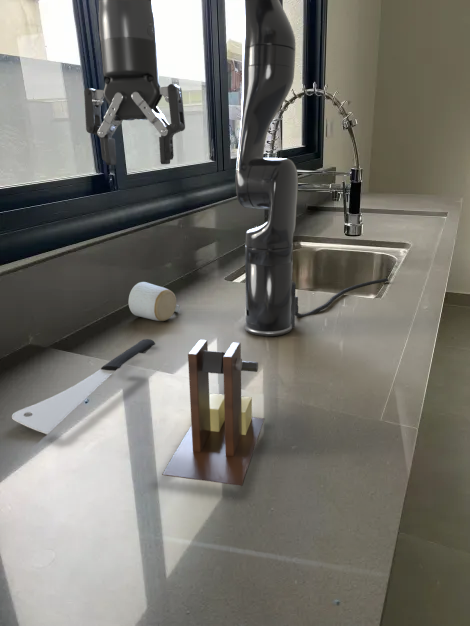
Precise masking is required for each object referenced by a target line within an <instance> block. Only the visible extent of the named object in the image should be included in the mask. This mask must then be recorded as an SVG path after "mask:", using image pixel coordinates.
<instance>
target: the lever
mask: <svg viewBox="0 0 470 626" xmlns="http://www.w3.org/2000/svg"><path fill="white" fill-rule="evenodd" d="M225 353H226V352H224V351H214V350H208V351H204V355H203V366H202V372H206V373H209V374H218V375H224V370H223V356H224V355H225ZM258 371H259V362H258V361H249V360H242V369H241V372H253V373H258Z"/></svg>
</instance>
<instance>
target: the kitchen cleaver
mask: <svg viewBox="0 0 470 626" xmlns="http://www.w3.org/2000/svg"><path fill="white" fill-rule="evenodd" d="M155 345H156V343H155V341H154V340H153V339H150V338H144V339H141V340H140V341H139V342H137V343H135V344H134V345H133V346H131V347H129V348H128V349H127V350H125V351H124V352H122V353H120V354H119V355H117V356H116V357H114V358H113V359H111V360H110V361H109V362H106V364H104V365H103V366H101V368H100V369H99V370H97V371H95V372H93V373H92V374H90V375H89V376H87V377H86V378H84V379H82V380H80V381H79V382H78V383H76V384H74V385H72V386H71V387H69V388H67V389H65V390H62V391H61V392H59V393H57V394H54V395H53V396H50V397H48V398H46V399H43V400H41V401H38V402H36V403H34V404H32V405H28V406H26V407H24V408H21V409H19V410H17V411H15V412H13V414H12V415H11V418H12V420H13V421H14V422H16V423H18V424H20V425H22V426H24V427H27V428H29V429H32V430H33V431H36V432H39V433H42V434H45V435H48V434H50V432H52V431H53V430H54V429H55V428H56V427H57V426H58V425H59V424H60V423H61V422H62V421H63V420H64V419H65V418H66V417H68V416H69V415H70V414H71V413H72V412H73V411H74V410H75V409H76V408H78V406H79V405H81V403H83V402H84V401H85V400H86V399H87V398H88V397H89V396H90V395H91V394H92V393H94V392H95V390H97V389H98V388H99V387H100V386H101V385H102V384H103V383H104V382H105V381H107V379H108V378H109V377H111V376H112V375H113V374H114V373H115V372H116V371H117V370H119V369H121V367H122V366H123V365H124V364H125V363H126V362H128V361H129V360H130V359H132V358H133V357H135V356H137V354H146V353H147V352H148V351H149V350H150V349H152V347H154V346H155ZM26 415H29V416H26Z"/></svg>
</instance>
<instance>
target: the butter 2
mask: <svg viewBox="0 0 470 626" xmlns="http://www.w3.org/2000/svg"><path fill="white" fill-rule="evenodd" d="M252 404H253V397H251V396H242V395H241V411H242V435H246V433H247V430H248V427H249V425H250V422H251V420H252V417H253V405H252Z"/></svg>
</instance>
